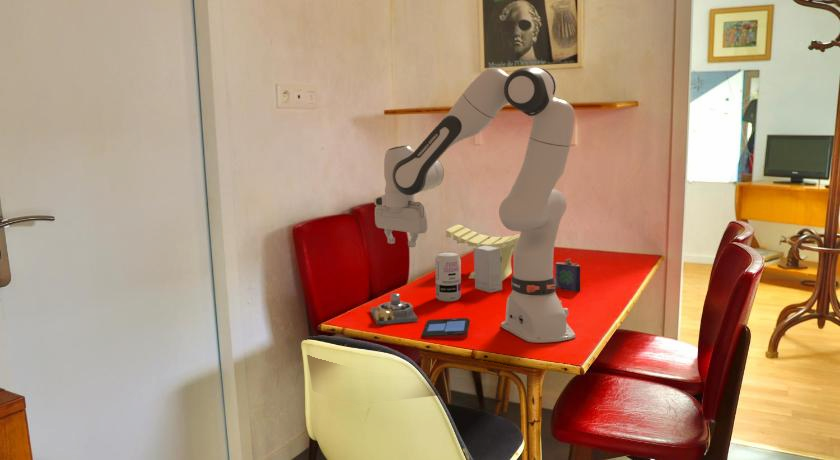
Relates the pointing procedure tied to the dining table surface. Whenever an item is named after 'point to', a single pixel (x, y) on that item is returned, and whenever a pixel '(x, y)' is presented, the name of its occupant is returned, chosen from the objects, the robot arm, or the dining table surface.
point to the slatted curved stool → (481, 240)
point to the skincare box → (487, 268)
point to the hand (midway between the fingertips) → (401, 245)
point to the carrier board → (393, 315)
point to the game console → (446, 328)
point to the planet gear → (395, 303)
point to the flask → (567, 276)
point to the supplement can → (448, 276)
